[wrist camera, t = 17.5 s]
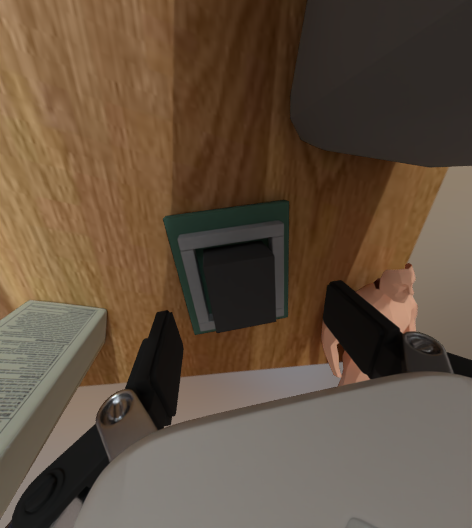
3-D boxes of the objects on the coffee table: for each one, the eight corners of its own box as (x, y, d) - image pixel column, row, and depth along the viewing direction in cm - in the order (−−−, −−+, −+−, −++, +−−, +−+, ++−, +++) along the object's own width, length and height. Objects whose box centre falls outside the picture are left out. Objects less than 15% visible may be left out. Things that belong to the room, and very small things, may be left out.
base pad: (165, 215, 15) (159, 221, 13) (284, 199, 16) (295, 202, 14) (195, 328, 20) (194, 344, 18) (284, 311, 21) (292, 325, 19)
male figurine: (335, 424, 27) (349, 297, 14) (316, 387, 31) (313, 262, 18) (406, 401, 27) (489, 253, 14) (378, 367, 31) (421, 229, 18)
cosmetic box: (34, 335, 18) (-232, 582, 7) (29, 296, 16) (-326, 536, 5) (108, 341, 20) (-15, 552, 9) (110, 306, 18) (-39, 510, 7)
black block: (203, 249, 16) (202, 266, 13) (261, 240, 16) (275, 255, 13) (214, 306, 18) (216, 333, 15) (264, 297, 19) (276, 321, 16)
